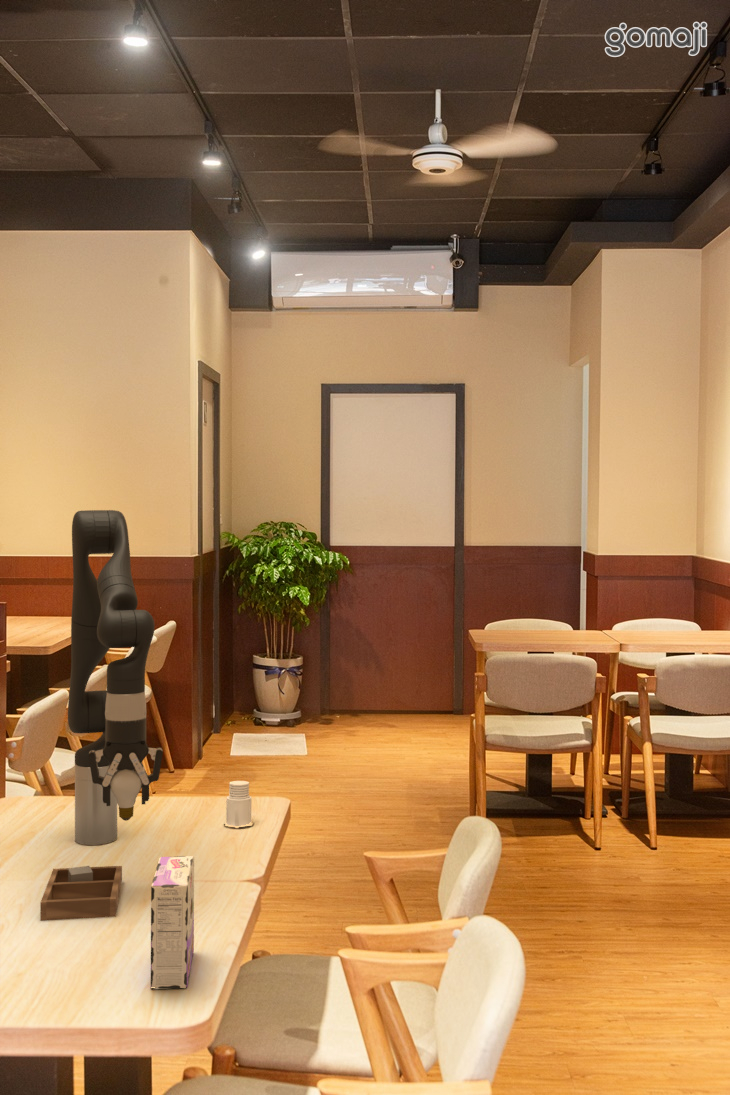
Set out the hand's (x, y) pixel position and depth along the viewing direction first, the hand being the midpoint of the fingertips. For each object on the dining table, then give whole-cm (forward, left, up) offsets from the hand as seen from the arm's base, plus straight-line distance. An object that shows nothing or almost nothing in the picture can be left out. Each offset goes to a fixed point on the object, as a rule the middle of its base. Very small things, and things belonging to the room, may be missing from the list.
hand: (125, 804), depth 201 cm
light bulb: (0, 0, -3) cm, 3 cm away
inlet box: (+2, -8, -18) cm, 20 cm away
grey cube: (-3, -9, -17) cm, 19 cm away
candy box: (+34, +9, -18) cm, 39 cm away
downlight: (-45, +23, -18) cm, 54 cm away
